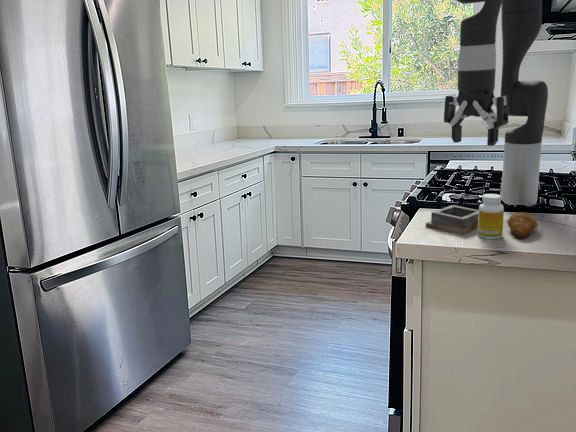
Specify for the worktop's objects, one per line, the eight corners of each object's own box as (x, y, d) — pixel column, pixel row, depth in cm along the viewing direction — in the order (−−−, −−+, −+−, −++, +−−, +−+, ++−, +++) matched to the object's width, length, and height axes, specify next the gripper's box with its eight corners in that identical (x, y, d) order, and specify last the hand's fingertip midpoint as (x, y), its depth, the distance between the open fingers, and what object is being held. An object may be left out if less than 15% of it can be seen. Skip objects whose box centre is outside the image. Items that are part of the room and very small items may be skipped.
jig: (453, 216, 137) (454, 203, 136) (488, 223, 129) (489, 210, 128) (425, 226, 129) (426, 213, 128) (460, 235, 122) (461, 221, 121)
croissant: (508, 222, 130) (509, 203, 128) (538, 224, 127) (540, 205, 125) (503, 239, 118) (505, 218, 117) (536, 242, 115) (538, 221, 114)
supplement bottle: (504, 239, 117) (507, 198, 115) (479, 239, 119) (481, 198, 116) (499, 232, 122) (502, 192, 120) (475, 232, 124) (477, 192, 121)
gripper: (518, 65, 106) (513, 143, 111) (458, 67, 117) (456, 138, 122) (497, 68, 102) (493, 149, 107) (437, 69, 113) (436, 143, 118)
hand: (473, 143), depth 114 cm, fingers open, 8 cm apart
